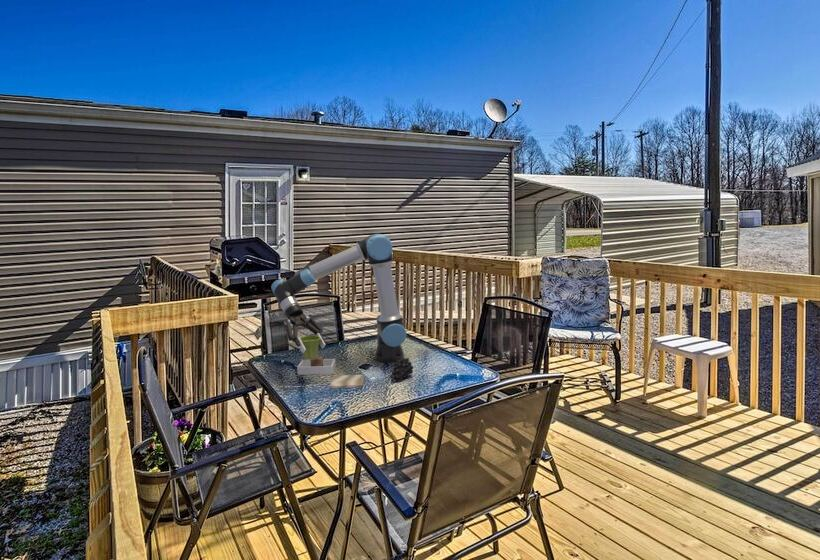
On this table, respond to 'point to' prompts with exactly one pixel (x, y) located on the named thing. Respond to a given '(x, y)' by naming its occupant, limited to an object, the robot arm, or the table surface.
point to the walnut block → (316, 361)
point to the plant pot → (310, 346)
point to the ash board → (347, 381)
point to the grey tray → (316, 367)
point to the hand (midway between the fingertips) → (314, 348)
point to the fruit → (401, 369)
